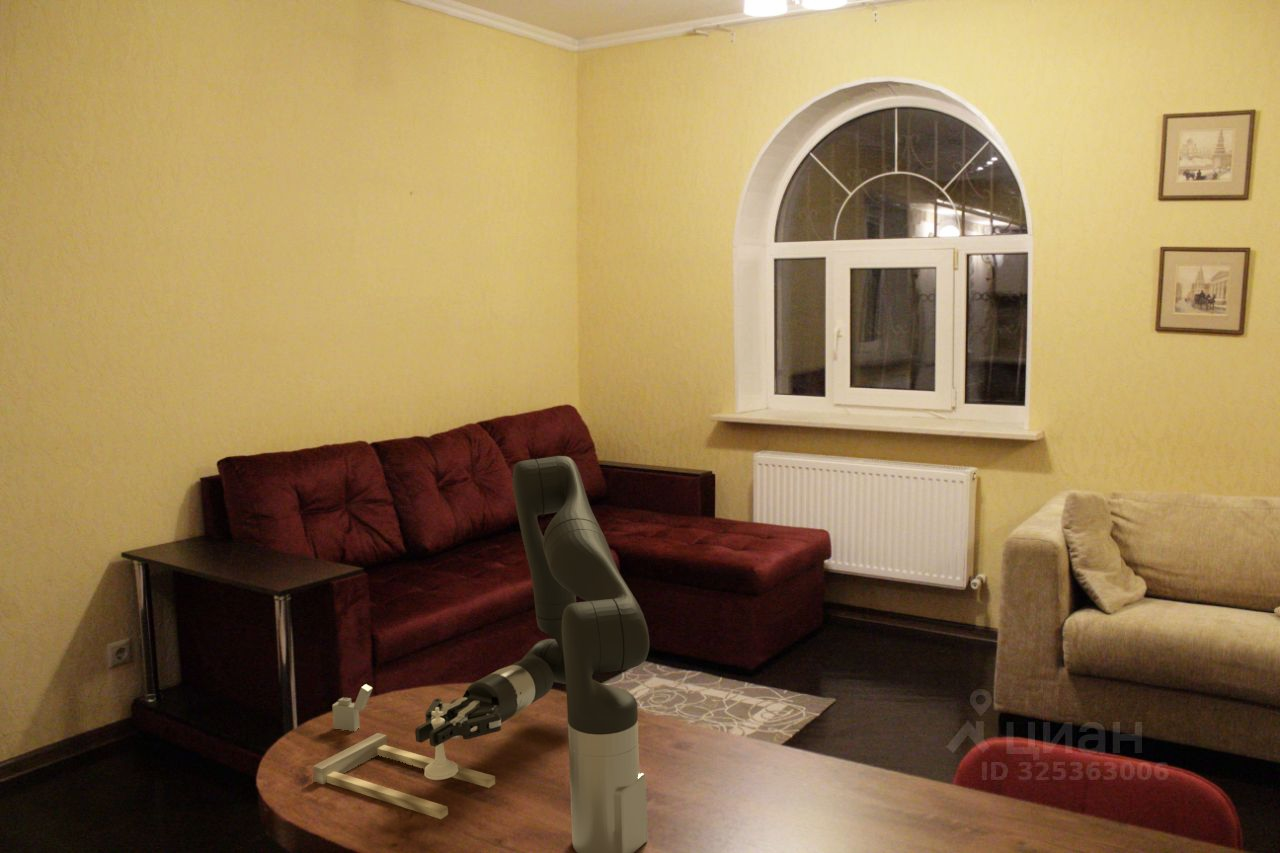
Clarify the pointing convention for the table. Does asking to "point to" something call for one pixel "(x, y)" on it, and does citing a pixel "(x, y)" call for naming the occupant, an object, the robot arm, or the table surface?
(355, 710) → the lighter
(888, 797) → the table surface
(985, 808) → the table surface
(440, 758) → the chess piece
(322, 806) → the table surface
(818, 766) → the table surface
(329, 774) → the track
